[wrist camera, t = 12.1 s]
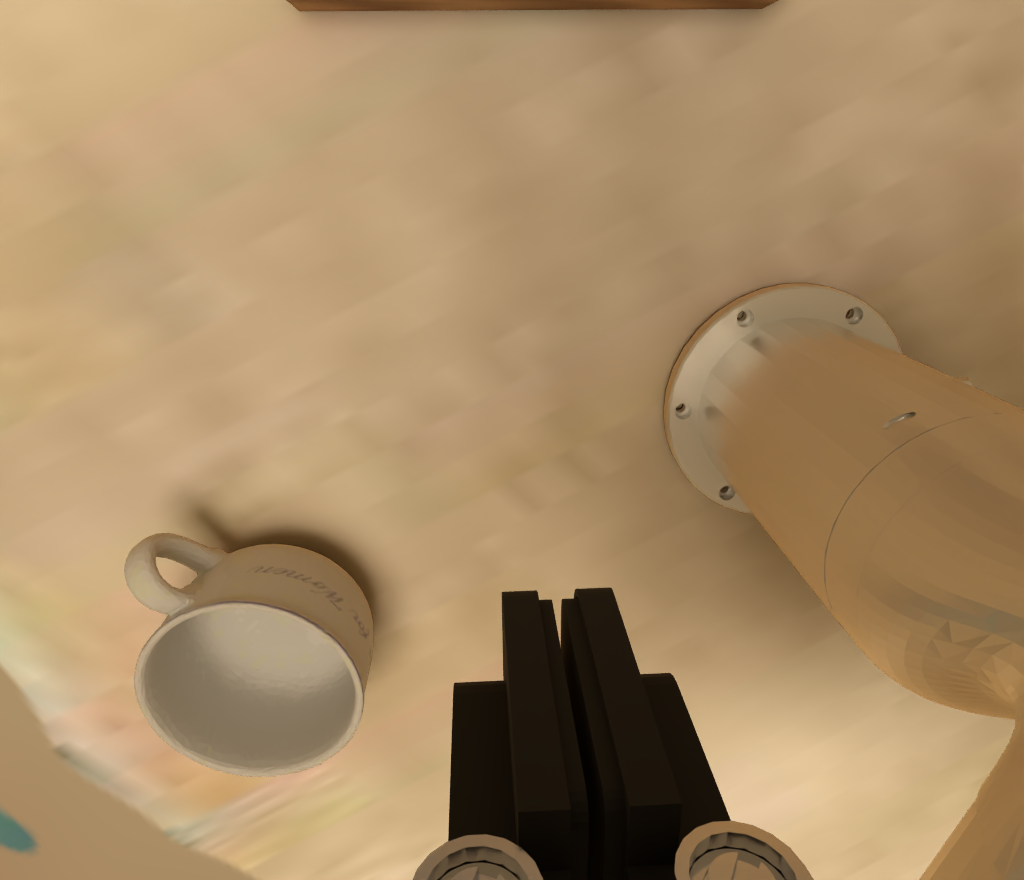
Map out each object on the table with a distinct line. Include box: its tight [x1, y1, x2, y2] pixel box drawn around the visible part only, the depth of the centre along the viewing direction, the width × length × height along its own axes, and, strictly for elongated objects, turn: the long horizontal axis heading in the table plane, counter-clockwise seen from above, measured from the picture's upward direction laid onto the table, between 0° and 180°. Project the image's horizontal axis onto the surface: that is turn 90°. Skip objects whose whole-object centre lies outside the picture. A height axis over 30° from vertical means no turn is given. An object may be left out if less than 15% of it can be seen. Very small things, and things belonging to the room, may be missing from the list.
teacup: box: [124, 533, 374, 777], centre depth 38 cm, size 14×11×8 cm
